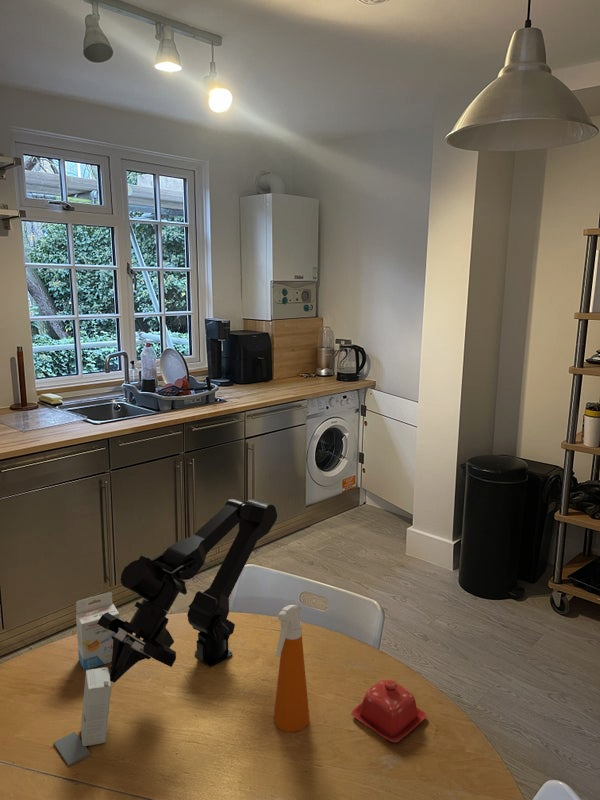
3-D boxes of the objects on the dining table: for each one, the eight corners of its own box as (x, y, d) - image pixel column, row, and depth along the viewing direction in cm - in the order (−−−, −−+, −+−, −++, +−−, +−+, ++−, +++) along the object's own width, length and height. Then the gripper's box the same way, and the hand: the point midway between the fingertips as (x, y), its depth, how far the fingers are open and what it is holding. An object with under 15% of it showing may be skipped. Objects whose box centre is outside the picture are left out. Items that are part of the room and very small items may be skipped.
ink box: (84, 672, 132) (79, 611, 129) (78, 660, 136) (74, 601, 133) (122, 659, 136) (119, 600, 133) (115, 647, 141) (112, 590, 137)
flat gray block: (74, 733, 114) (74, 731, 114) (90, 754, 109) (90, 752, 109) (53, 744, 112) (53, 742, 112) (68, 766, 107) (68, 764, 107)
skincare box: (80, 725, 116) (83, 668, 114) (104, 721, 118) (108, 665, 116) (82, 748, 110) (86, 689, 108) (107, 743, 112) (111, 685, 110)
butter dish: (383, 691, 127) (385, 656, 125) (429, 720, 119) (431, 682, 117) (347, 718, 119) (349, 681, 118) (394, 751, 111) (396, 711, 110)
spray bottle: (259, 740, 113) (259, 614, 108) (282, 703, 123) (282, 586, 118) (294, 751, 111) (295, 623, 105) (314, 712, 120) (316, 593, 115)
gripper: (208, 635, 122) (167, 712, 115) (149, 603, 133) (109, 672, 127) (177, 616, 114) (132, 698, 108) (118, 585, 125) (73, 657, 119)
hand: (111, 681), depth 115 cm, fingers closed
